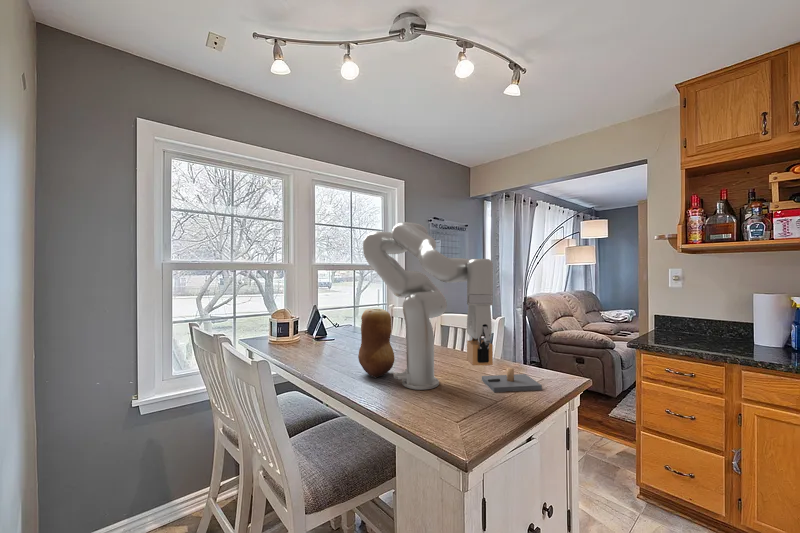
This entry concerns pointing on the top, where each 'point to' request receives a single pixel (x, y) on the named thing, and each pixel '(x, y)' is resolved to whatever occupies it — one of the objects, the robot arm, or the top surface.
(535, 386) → the plate
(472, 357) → the tan wooden cube
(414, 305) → the robot arm
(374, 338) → the butternut squash
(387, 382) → the top surface
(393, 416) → the top surface
